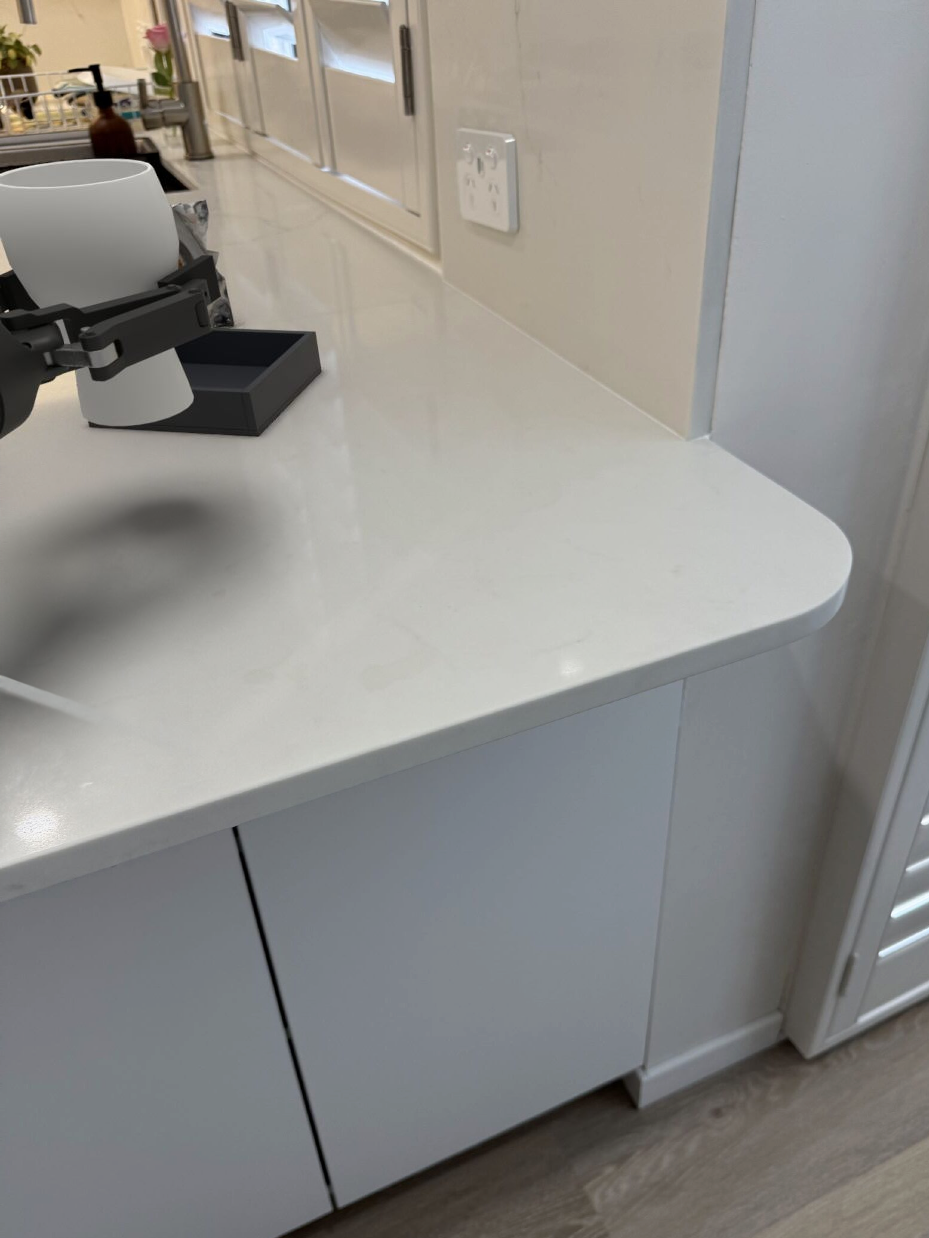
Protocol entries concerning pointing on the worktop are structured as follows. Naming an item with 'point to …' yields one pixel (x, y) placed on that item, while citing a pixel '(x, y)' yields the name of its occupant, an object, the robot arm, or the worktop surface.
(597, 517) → the worktop surface
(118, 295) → the cup
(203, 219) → the meal
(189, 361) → the tray
